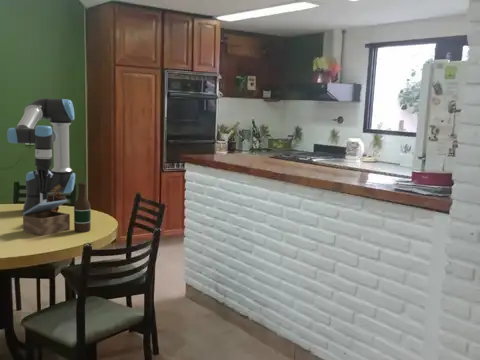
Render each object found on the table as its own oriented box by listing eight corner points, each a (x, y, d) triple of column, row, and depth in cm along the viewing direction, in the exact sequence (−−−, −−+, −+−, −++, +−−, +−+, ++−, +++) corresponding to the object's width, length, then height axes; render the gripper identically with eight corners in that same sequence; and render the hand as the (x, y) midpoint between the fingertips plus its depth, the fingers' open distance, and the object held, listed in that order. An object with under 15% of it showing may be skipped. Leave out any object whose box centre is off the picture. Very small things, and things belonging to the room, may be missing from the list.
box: (51, 225, 255) (51, 210, 254) (69, 230, 248) (69, 214, 247) (23, 231, 242) (23, 215, 241) (42, 236, 235) (41, 219, 234)
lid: (51, 210, 254) (50, 208, 254) (67, 201, 247) (66, 199, 247) (23, 215, 241) (22, 213, 241) (39, 205, 234) (38, 203, 234)
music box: (65, 224, 259) (64, 186, 256) (42, 225, 256) (41, 186, 253) (67, 218, 273) (66, 182, 270) (45, 218, 270) (45, 182, 268)
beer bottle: (84, 233, 243) (83, 184, 240) (70, 231, 246) (70, 183, 242) (93, 229, 250) (93, 182, 247) (81, 228, 253) (80, 181, 250)
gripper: (28, 157, 241) (28, 205, 244) (45, 159, 234) (45, 209, 238) (41, 156, 247) (41, 203, 251) (58, 158, 241) (58, 206, 244)
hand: (43, 205), depth 244 cm, fingers closed
